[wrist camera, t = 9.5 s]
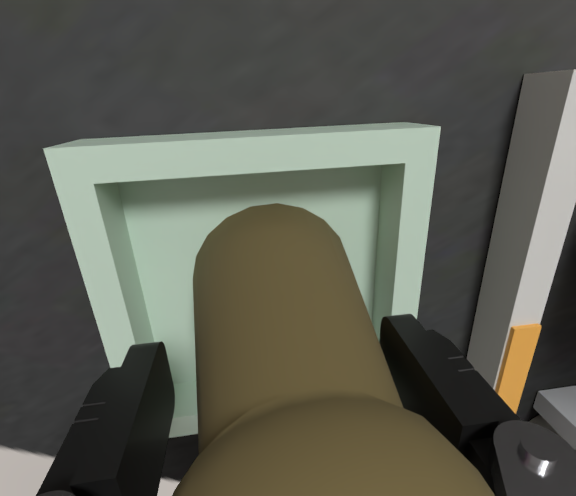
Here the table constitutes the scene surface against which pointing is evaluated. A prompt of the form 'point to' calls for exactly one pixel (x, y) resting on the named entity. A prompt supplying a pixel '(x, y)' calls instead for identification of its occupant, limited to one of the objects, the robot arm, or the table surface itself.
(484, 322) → the white rectangular frame
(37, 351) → the table surface
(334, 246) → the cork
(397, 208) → the tray
